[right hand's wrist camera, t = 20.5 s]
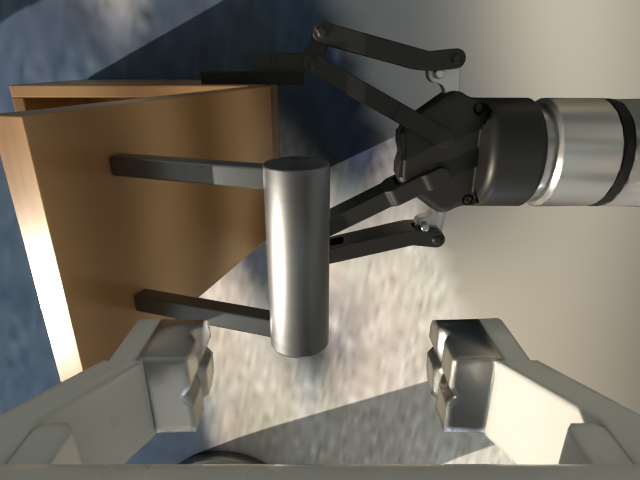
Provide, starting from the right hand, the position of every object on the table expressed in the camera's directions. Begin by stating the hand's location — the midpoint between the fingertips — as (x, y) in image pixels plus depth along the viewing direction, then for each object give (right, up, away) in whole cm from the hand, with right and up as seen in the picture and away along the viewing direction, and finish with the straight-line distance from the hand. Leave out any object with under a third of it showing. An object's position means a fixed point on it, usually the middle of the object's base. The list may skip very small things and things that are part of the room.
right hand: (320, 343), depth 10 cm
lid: (-7, +5, +11) cm, 14 cm away
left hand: (-8, +9, +22) cm, 25 cm away
